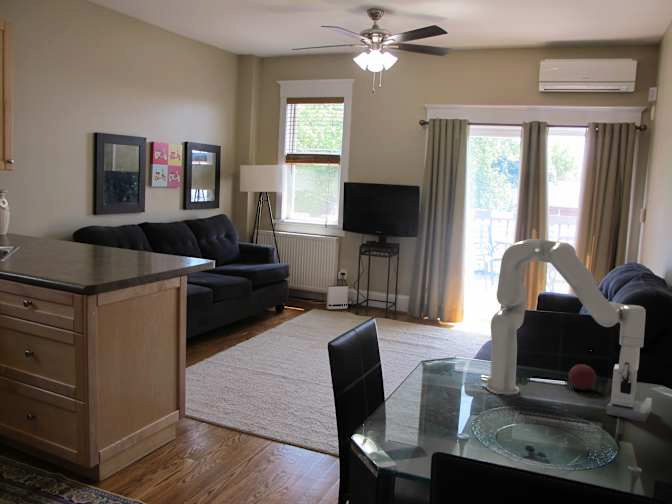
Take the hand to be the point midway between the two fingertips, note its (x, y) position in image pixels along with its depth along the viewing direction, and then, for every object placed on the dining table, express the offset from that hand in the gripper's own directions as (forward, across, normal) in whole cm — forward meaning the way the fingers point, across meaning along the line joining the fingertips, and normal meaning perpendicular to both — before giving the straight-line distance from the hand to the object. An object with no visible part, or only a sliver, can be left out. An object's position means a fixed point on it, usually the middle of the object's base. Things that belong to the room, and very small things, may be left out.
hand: (628, 389), depth 208 cm
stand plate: (+8, 0, +1) cm, 8 cm away
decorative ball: (+9, -16, -19) cm, 26 cm away
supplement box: (+5, 0, -1) cm, 5 cm away
